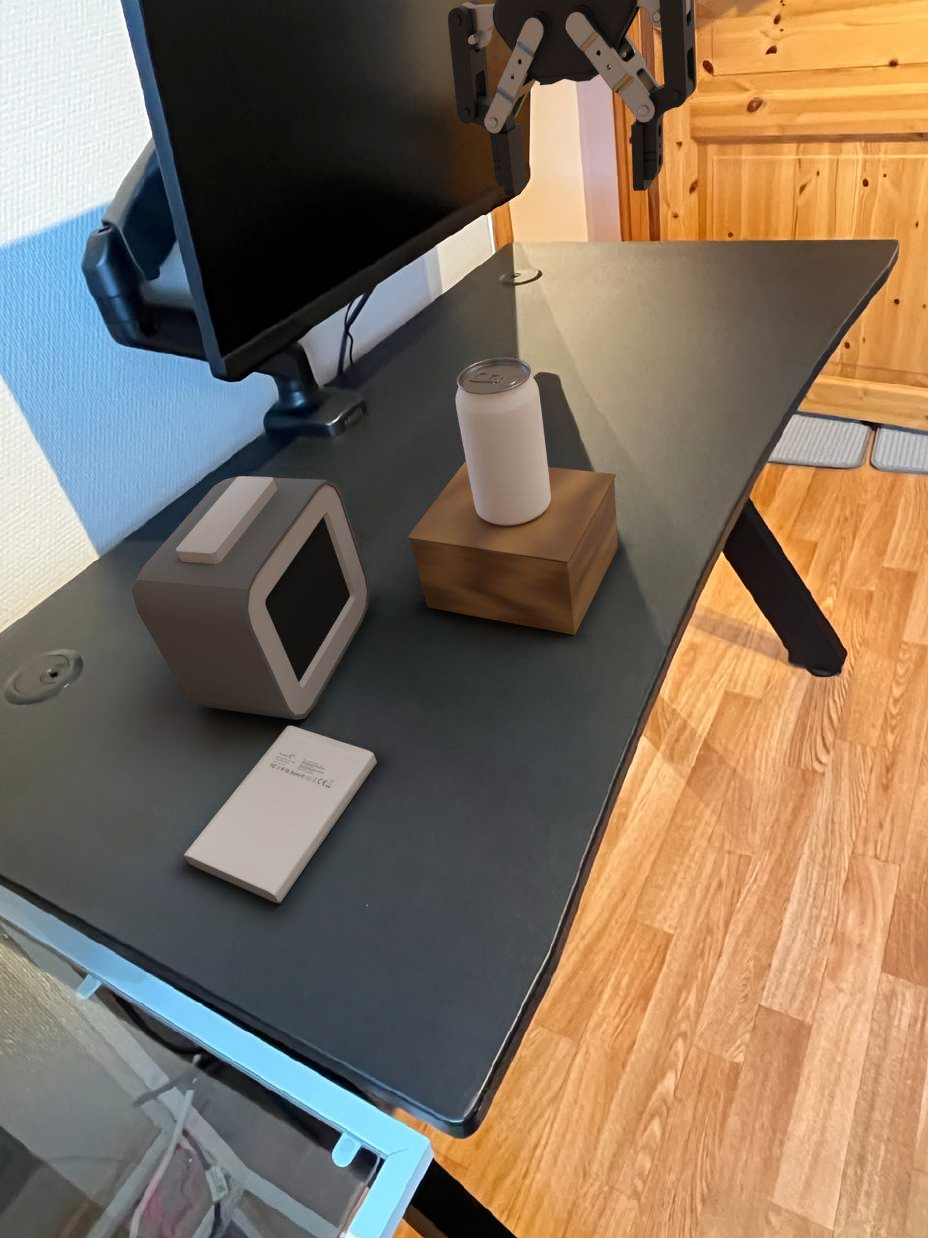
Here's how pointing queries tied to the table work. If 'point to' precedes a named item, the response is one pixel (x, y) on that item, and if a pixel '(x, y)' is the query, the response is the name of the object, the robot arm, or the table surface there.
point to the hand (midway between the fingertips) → (578, 189)
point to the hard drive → (281, 813)
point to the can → (503, 441)
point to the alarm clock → (257, 595)
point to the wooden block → (519, 553)
